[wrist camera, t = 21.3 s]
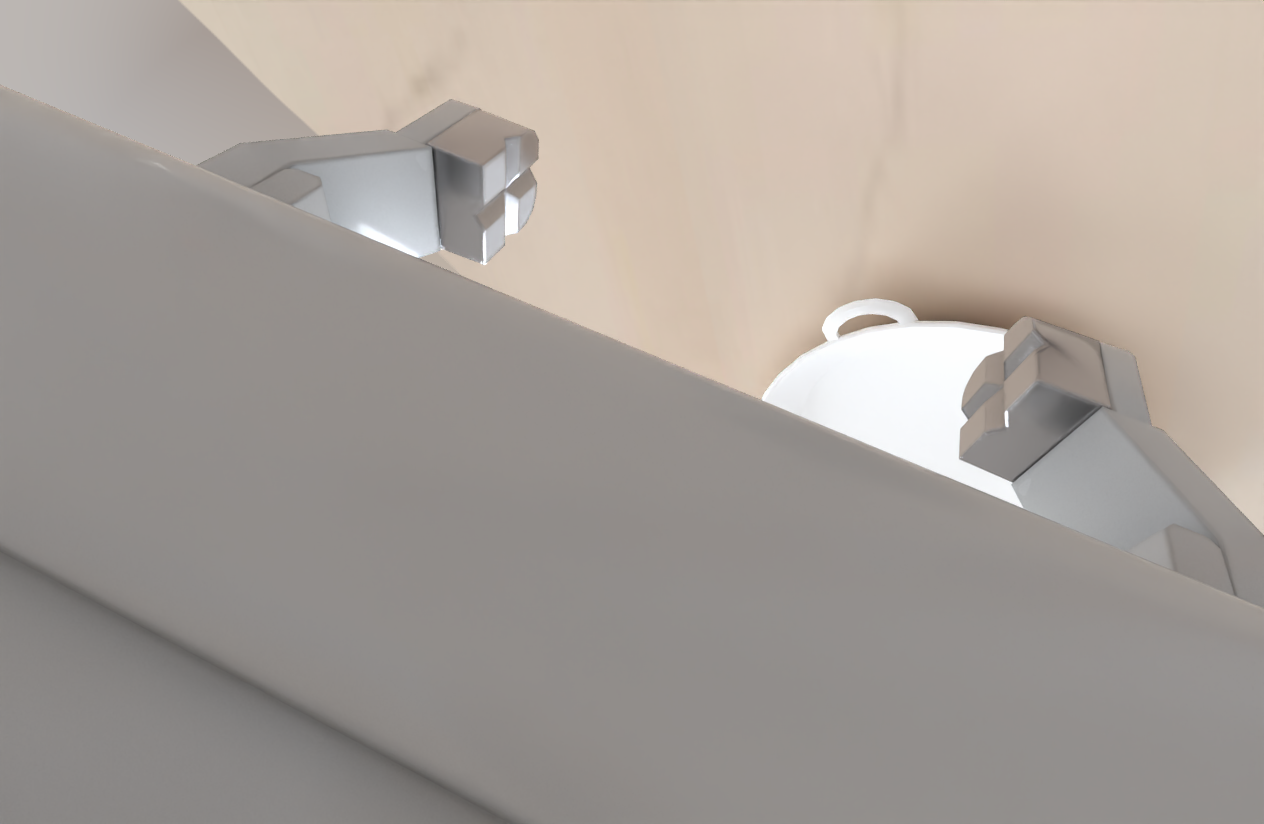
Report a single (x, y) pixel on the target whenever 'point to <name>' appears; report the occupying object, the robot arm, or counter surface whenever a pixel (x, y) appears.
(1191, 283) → the counter surface
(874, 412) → the pan
